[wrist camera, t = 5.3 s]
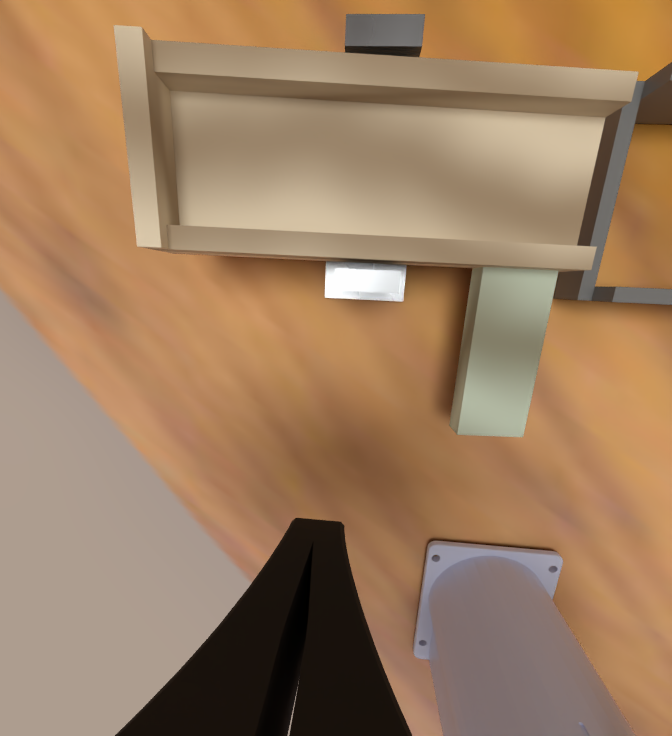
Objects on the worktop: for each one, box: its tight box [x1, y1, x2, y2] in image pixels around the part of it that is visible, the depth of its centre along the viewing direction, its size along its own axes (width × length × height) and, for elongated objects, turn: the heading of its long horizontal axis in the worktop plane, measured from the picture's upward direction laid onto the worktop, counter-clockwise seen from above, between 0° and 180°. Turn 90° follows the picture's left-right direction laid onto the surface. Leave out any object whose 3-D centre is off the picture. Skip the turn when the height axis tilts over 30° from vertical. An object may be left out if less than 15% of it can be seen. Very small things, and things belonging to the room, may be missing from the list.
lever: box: [114, 25, 638, 437], centre depth 12 cm, size 13×16×2 cm
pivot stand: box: [325, 14, 425, 301], centre depth 13 cm, size 9×4×5 cm, turn 177°
